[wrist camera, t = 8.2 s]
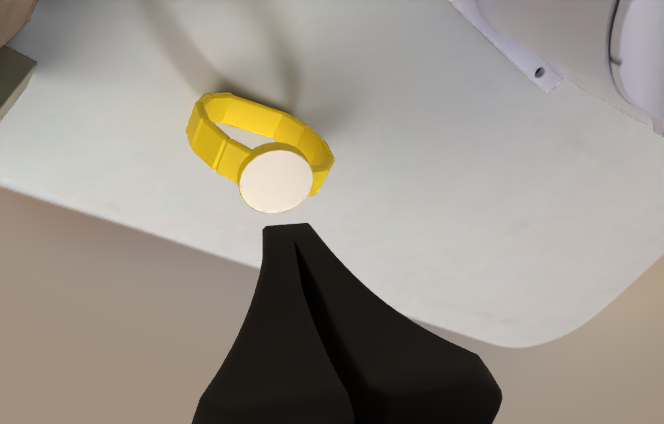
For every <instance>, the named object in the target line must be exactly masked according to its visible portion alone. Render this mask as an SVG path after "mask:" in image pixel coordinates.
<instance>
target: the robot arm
mask: <svg viewBox="0 0 664 424" xmlns="http://www.w3.org/2000/svg"><path fill="white" fill-rule="evenodd" d="M447 1H448V2H449V3H450V4H451V5H452V6H453V7H454V8H455V9H456V10H457V11H458V12H459V13H461V14H462V15H463V16H464V17H465V18H466V19H467V20H468V21H469V22H470V23H471V24H472V25H473V26H474V27H475V28H476V29H477V30H478V31H479V32H480V33H481V34H482V35H484V36H485V37H486V38H487V39H488V40H489V41H490V42H491V43H492V44H493V45H494V46H495V47H496V48H497V49H498V50H499V51H500V52H501V53H502V54H503V55H504V56H505V57H507V58H508V59H509V60H510V61H511V62H512V63H513V64H514V65H515V66H516V67H517V68H518V69H519V70H520V71H521V72H522V73H523V74H524V75H525V76H526V77H527V78H528V79H530V80H531V81H532V82H533V83H534V84H535V85H536V86H537V87H538V88H539V89H540V90H542V91H544V92H550V91H552V90H553V89H555V88H556V87H557V86H558V84H559V83H560V82H561V81H562V80H563V79H565V80H567V81H569V82H570V83H572V84H574V85H576V86H578V87H579V88H581V89H583V90H585V91H586V92H588V93H590V94H592V95H593V96H595V97H597V98H599V99H601V100H602V101H604V102H606V103H608V104H609V105H611V106H613V107H615V108H616V109H618V110H620V111H622V112H624V113H625V114H627V115H629V116H631V117H632V118H634V119H636V120H638V121H640V122H642V123H644V124H647V125H649V126H652V127H653V129H654V132H656V133H657V134H659V135H661V136H663V137H664V0H447ZM538 68H540V71H539V72H538V73H537V74H536V75H535V72H536V70H537V69H538ZM501 402H502V393H501V389H500V388H499V386H498V384H497V383H496V381H495V379H494V378H493V376H492V374H491V373H490V371H489V370H488V368H487V367H486V366H485V364H484V363H483V361H482V360H481V359H480V357H479V356H478V355H477V354H475V353H473V352H470V351H468V350H466V349H464V348H462V347H460V346H457V345H455V344H453V343H451V342H449V341H447V340H445V339H443V338H441V337H439V336H437V335H435V334H433V333H431V332H430V331H428V330H426V329H424V328H423V327H421V326H419V325H417V324H416V323H414V322H413V321H411V320H410V319H408V318H407V317H405V316H404V315H402V314H401V313H399V312H398V311H396V310H395V309H393V308H392V307H391V306H389V305H388V304H386V303H385V302H384V301H383V300H381V299H380V298H379V297H378V296H376V295H375V294H374V293H373V292H372V291H370V290H369V289H368V288H367V287H366V286H365V285H364V284H363V283H362V282H361V281H360V280H358V279H357V278H356V277H355V276H354V275H353V274H352V273H351V272H350V271H349V270H348V269H347V268H346V267H345V266H344V264H343V263H342V262H341V261H340V260H339V259H338V258H337V257H336V256H335V255H334V254H333V252H332V251H331V250H330V249H329V248H328V247H327V245H326V244H325V243H324V242H323V241H322V239H321V238H320V237H319V236H318V234H317V233H316V232H315V231H314V229H313V228H312V227H311V225H309V224H308V223H301V224H287V225H274V226H266V227H265V228H264V229H263V260H262V265H261V270H260V275H259V279H258V282H257V286H256V289H255V293H254V296H253V299H252V302H251V305H250V308H249V310H248V313H247V315H246V318H245V320H244V323H243V325H242V327H241V329H240V332H239V334H238V336H237V338H236V340H235V342H234V344H233V346H232V348H231V350H230V351H229V353H228V355H227V357H226V359H225V360H224V362H223V364H222V366H221V368H220V369H219V371H218V372H217V374H216V376H215V377H214V378H213V380H212V381H211V383H210V384H209V386H208V387H207V389H206V390H205V392H204V393H203V395H202V396H201V398H200V400H199V403H198V406H197V409H196V412H195V415H194V418H193V421H192V424H492V423H493V421H494V419H495V417H496V415H497V412H498V411H499V408H500V405H501Z"/></svg>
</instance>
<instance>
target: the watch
mask: <svg viewBox="0 0 664 424" xmlns="http://www.w3.org/2000/svg"><path fill="white" fill-rule="evenodd" d="M220 122H221V123H224V124H227V125H231V126H234V127H237V128H241V129H244V130H247V131H251V132H254V133H257V134H261V135H264V136H267V137H271V138H273V139H274V140H276V141H278V142H274V143H266V144H263V145H261V146H259V147H256V148H254V149H253V150H252V149H250V148H248V147H246V146H244V145H242V144H241V143H239V142H237V141H235V140H233V139H230V137H229V136H228V135H227V134H225V133H224V132H223V131H222V130H221V129H220V128H219V127H217V126H216V125H215V124H214V123H220ZM186 133H187V137H188V140H189V143H190V146H191V148H192V149H193V151H194V152H195V153H196V154H197V155H198V156H199V157H200V158H201V159H202V160H203V161H204V162H206V163H207V164H208V165H209V166H210V167H211V168H212V169H213V170H216V172H217V173H219V174H221V175H223V176H225V177H227V178H228V179H230V180H232V181H234V182H236V183H238V186H239V191H240V194H241V196H242V198H243V199H244V201H245V202H246V203H247V204H248V205H249V206H251V207H252V208H253V209H255V210H258V211H261V212H264V213H280V212H285V211H288V210H290V209H292V208H294V207H296V206H297V205H299V204H300V203H301V202H302V201H304V199H305V198H306V197H307V196H313V195H315V194H317V192H318V190H319V189H320V187H321V185H322V184H323V182H324V180H325V178H326V176H327V174H328V172H329V170H330V168H331V167H332V165H333V163H334V156H333V154H332V152H331V150H330V148H329V146H328V144H327V143H326V142H325V141H324V140H323V139H322V138H321V137H320V136H319V135H318V134H317V133H316V132H314V131H313V130H312V129H311V128H310V127H308V126H307V125H306V124H304V123H303V122H301V121H299V120H298V119H296V118H294V117H293V116H291V115H290V114H288V113H286V112H282V111H279V110H276V109H273V108H271V107H268V106H265V105H262V104H259V103H256V102H253V101H250V100H247V99H244V98H241V97H238V96H235V95H233V93H230V92H229V93H208V94H205V95H203V96H202V97H201V98H200V99H199V100H198V101H197V102H196V103H195V106H194V109H193V111H192V114H191V117H190V120H189V123H188V126H187V128H186Z"/></svg>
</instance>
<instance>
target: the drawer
mask: <svg viewBox="0 0 664 424" xmlns="http://www.w3.org/2000/svg"><path fill="white" fill-rule="evenodd" d="M37 1H38V0H0V122H1V120H2V119H3V118H4V116H5V115H6V114H7V112H8V111H9V110H10V108H11V107H12V106H13V104H14V103H15V102H16V100H17V99H18V98H19V96H20V95H21V94H22V92H23V91H24V90H25V88H26V87H27V85H28V83H29V81H30V78H31V76H32V74H33V72H34V70H35V67H36V65H37V61H35V60H33V59H31V58H29V57H27V56H25V55H23V54H22V53H20V52H18V51H16V50H14V49H12V48H10V47H8V46H6V45H4V44H5V43H6V42H8V41H9V40H10V39H11V38H12V37H13V36H14V35H15V34H16V33H17V32H18V31H19V30H20V29H21V28H22V27H23V26H24V25H25V24H26V23H28V22H29V20H30V17H31V15H32V13H33V11H34V8H35V6H36V4H37Z"/></svg>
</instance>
